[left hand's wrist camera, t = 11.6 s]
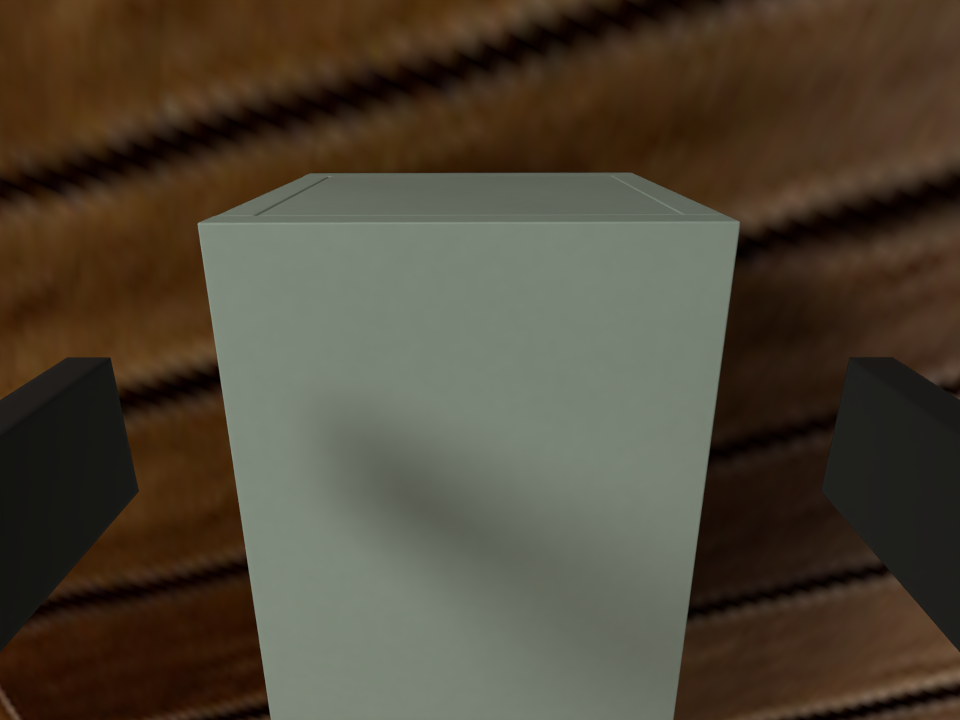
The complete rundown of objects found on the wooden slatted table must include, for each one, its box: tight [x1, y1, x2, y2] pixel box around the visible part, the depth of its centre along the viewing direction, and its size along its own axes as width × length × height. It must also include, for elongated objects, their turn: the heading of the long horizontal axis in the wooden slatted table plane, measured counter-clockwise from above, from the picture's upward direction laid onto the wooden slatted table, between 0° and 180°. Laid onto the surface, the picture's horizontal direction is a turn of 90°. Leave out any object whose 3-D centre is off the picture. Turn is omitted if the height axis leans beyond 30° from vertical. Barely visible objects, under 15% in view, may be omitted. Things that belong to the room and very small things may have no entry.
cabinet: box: [198, 173, 740, 720], centre depth 23 cm, size 21×11×10 cm, turn 0°
